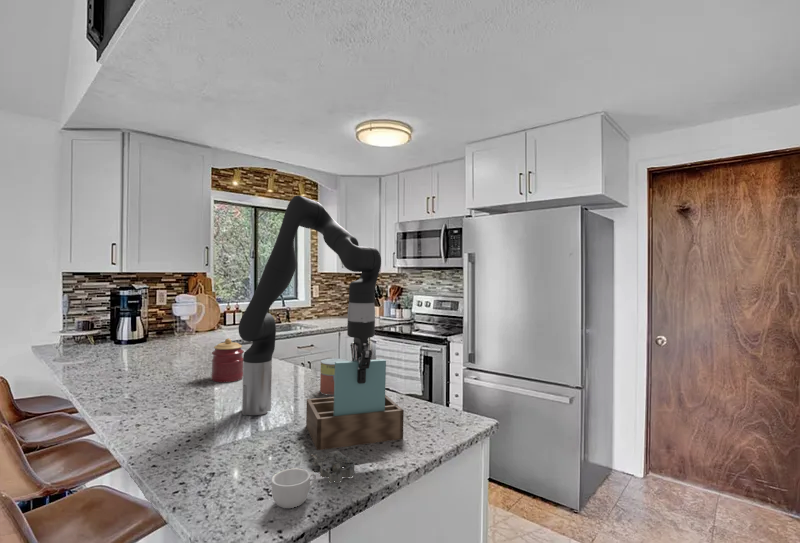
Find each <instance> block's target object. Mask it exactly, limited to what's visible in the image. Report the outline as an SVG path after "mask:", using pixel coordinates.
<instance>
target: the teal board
mask: <svg viewBox="0 0 800 543" xmlns="http://www.w3.org/2000/svg"><path fill="white" fill-rule="evenodd" d="M363 364H364V363H363ZM357 370H358V369H357V361H352V360H349V361H338V362H335V376H334V395H333V397H334V414H333V416H340V415H350V414H359V413H369V412H378V411H385V395H386V379H387V378H386V376H387V373H386V372H387V360H386V359H384V358H382V359H381V358H380V359H371V360H370V365H369V369H366V382H365V383H362V384H359V383H358V382H357Z"/></svg>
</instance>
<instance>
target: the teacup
mask: <svg viewBox="0 0 800 543" xmlns="http://www.w3.org/2000/svg"><path fill="white" fill-rule="evenodd" d="M312 476H313V478H312ZM316 476H317V475H316V474H315V472H309V470H306V469H305V468H295V467H293V468H288V469H283V470H280V471H279V472H276V473H275V474H273V476H272V477H271V495H272V499H273V501H274V502H275V504H276V505H277V506H278V507H280V508H282V509H285V508H292V509H295V508H294V507H296V508H298V507H299V506H301V505H302V504H303V503H304V502H306V500H307V498H308V496H309V492H310V488H311V487H312V486H313V485H314V484H315V482H317V481H316V480H317V477H316ZM311 478H312V479H313V480H312V481H311ZM297 506H298V507H297Z"/></svg>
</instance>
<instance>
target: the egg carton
mask: <svg viewBox="0 0 800 543" xmlns="http://www.w3.org/2000/svg"><path fill="white" fill-rule="evenodd" d="M310 457H312V458H314V460H313V462H312V466H313V467H320V469H316V470H315V469H314V470H313V471H314V472H313V473H320V475H319V476H320V477H321V476H322V477H321V478H323V477H324V478H328V477H329V478H328V482H329V481H330V482H334V481H335V482H340V481H342V482H343V479H342V477H352V476H353V477H354V474H355V465H356V464H357V462H358V461H356V460H352V458H350V456H347V455H345V454H343V453H342V452H341V451H340V450H333V451H331V452H330V451H328V452H327V453H322V455H321V457H319V455H318V454H313V453H310ZM327 458H335V461H336V462H335V461H332V462H331V466H332V467H330V466H329V467H325V468H323V462H325V461H326V459H327ZM342 462H343V463H342ZM342 467H344V468H342ZM331 471H332V472H331ZM353 473H354V474H353ZM330 482H329V483H330ZM340 483H341V482H340Z"/></svg>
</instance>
